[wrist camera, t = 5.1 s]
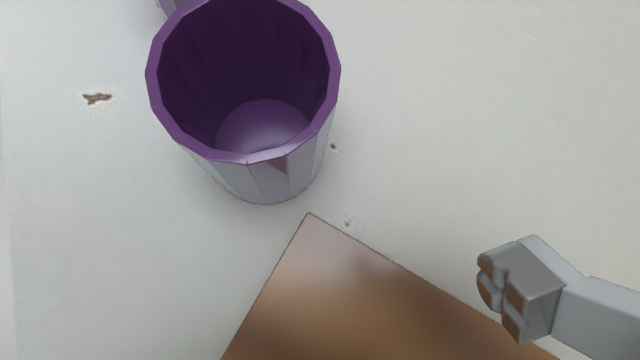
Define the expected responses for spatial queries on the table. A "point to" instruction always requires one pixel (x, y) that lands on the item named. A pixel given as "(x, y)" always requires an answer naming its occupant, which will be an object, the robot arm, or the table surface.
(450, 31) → the table surface
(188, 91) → the cup
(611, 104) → the table surface
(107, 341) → the table surface
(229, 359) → the mat
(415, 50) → the table surface
